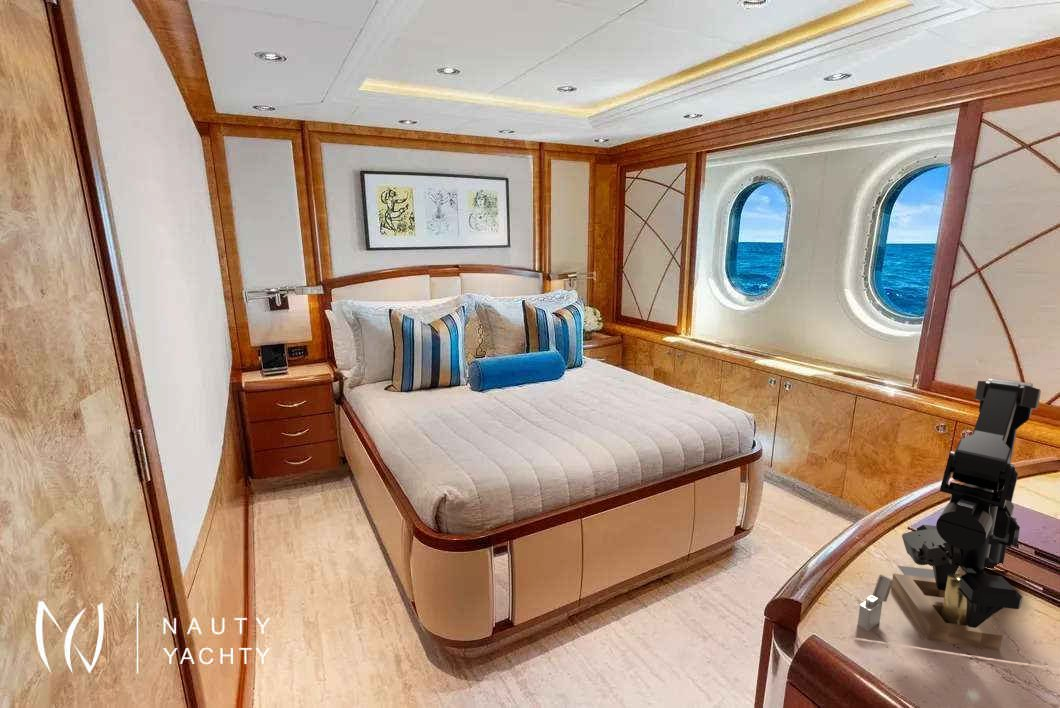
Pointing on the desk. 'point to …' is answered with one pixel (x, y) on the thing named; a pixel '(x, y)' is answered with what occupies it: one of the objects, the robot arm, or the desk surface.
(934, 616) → the hole block
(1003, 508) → the robot arm
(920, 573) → the mat
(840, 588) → the desk surface
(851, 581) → the desk surface
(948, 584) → the peg
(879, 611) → the lighter
